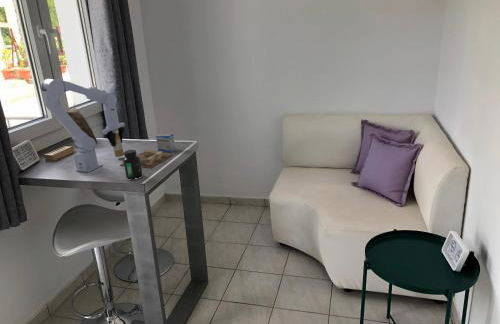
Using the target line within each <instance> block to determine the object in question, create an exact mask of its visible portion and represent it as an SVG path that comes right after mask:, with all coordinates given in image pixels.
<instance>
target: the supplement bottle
mask: <svg viewBox="0 0 500 324" xmlns="http://www.w3.org/2000/svg"><path fill="white" fill-rule="evenodd" d="M123 152H124V155H123V156H124V158H123V161H122V163H124V166H123V167H124V172H125V176H126V179H127V178H128V179H135V178H139V177H141V176H142V175H144V174H143V168H141V163H140V158H139V157H138V156H137V155H138V154H137V151H136V150H135V149H128V150H125V151H123ZM142 177H143V176H142ZM142 177H141V178H142ZM128 179H127V180H128Z"/></svg>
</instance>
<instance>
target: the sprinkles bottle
mask: <svg viewBox="0 0 500 324" xmlns="http://www.w3.org/2000/svg"><path fill="white" fill-rule="evenodd" d="M112 132H113V133H116V135H115V142H116V146H112V149H113V152H114V157H116V158H120V157H123V156H125V155H124V152H125V151H124V149H123V143H121V140H120V137H119V132H118V129H115V130H113V131H112Z"/></svg>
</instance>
